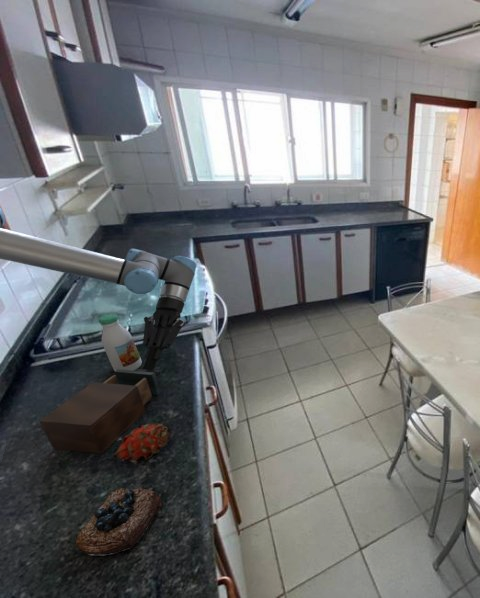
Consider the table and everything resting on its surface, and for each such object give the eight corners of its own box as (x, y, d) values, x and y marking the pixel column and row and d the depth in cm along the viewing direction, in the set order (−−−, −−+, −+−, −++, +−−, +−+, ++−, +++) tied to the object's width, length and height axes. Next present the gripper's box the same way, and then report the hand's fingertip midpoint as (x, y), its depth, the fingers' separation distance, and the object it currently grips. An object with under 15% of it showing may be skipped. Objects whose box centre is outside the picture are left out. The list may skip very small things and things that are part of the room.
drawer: (135, 380, 106) (129, 360, 103) (170, 383, 106) (164, 364, 103) (84, 422, 90) (75, 400, 87) (125, 425, 90) (117, 403, 87)
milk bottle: (115, 377, 108) (91, 325, 99) (114, 365, 114) (91, 315, 105) (143, 368, 113) (123, 318, 104) (141, 357, 118) (122, 308, 109)
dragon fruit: (181, 444, 88) (128, 474, 82) (168, 417, 90) (115, 444, 84) (173, 441, 81) (114, 473, 75) (159, 411, 83) (100, 440, 77)
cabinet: (103, 408, 96) (93, 381, 92) (146, 411, 96) (137, 385, 92) (53, 449, 83) (38, 420, 79) (102, 453, 83) (90, 425, 79)
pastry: (168, 496, 74) (161, 479, 71) (131, 557, 63) (120, 540, 60) (118, 496, 73) (108, 479, 70) (71, 558, 62) (58, 541, 60)
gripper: (197, 305, 115) (176, 372, 107) (160, 302, 115) (136, 369, 107) (184, 297, 108) (160, 369, 100) (145, 294, 108) (118, 365, 100)
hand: (148, 369), depth 104 cm, fingers closed
